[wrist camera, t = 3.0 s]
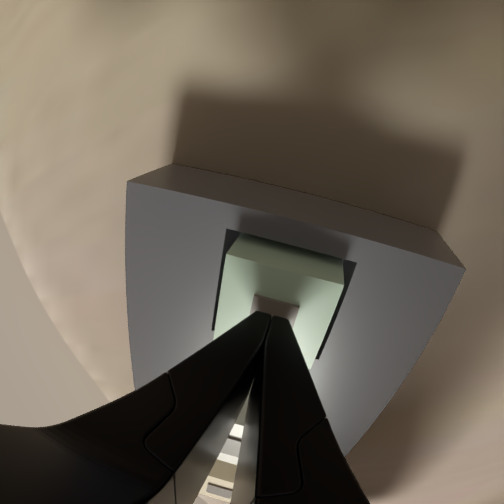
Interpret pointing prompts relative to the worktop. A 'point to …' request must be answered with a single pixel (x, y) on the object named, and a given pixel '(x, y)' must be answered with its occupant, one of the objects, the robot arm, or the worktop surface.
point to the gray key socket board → (297, 234)
